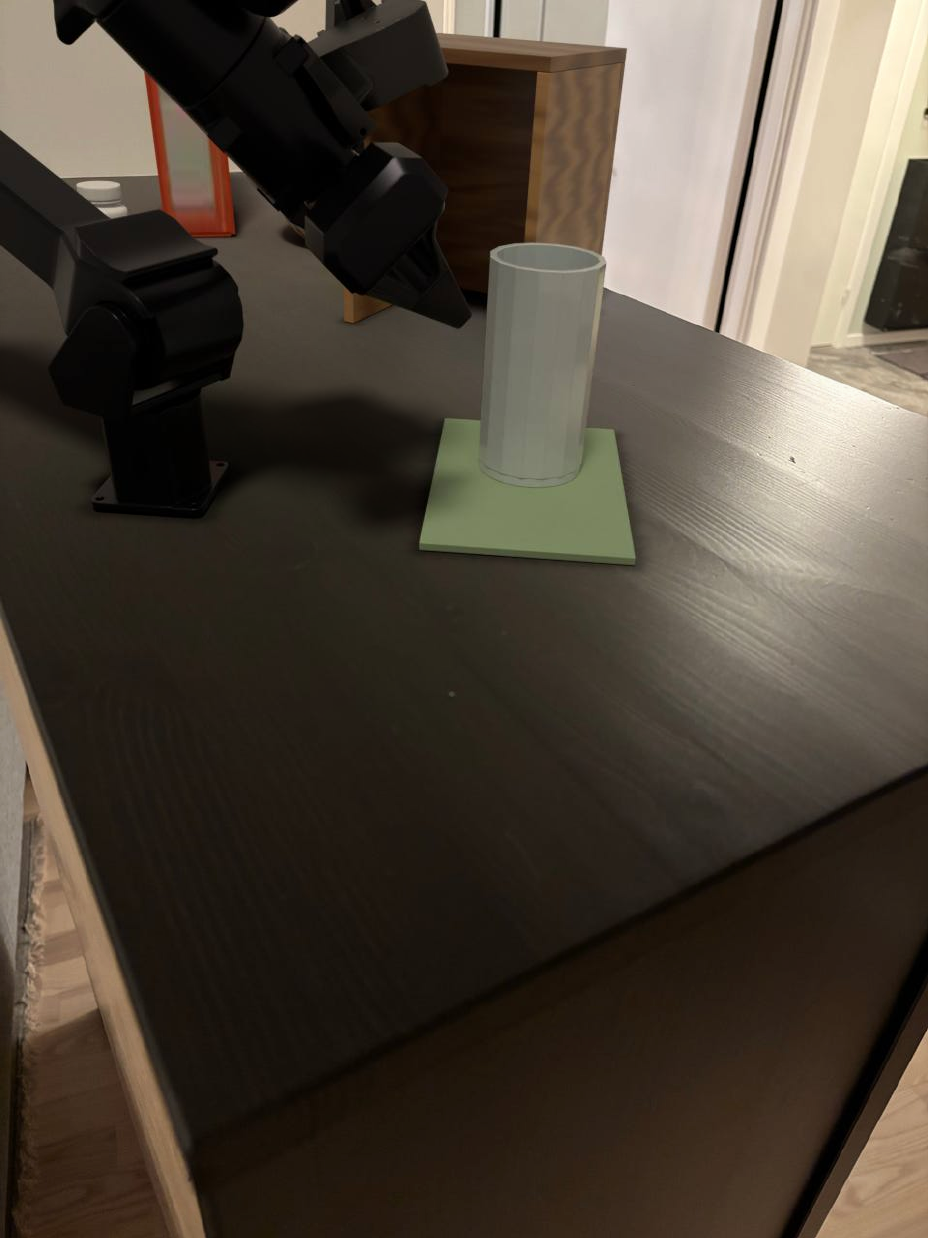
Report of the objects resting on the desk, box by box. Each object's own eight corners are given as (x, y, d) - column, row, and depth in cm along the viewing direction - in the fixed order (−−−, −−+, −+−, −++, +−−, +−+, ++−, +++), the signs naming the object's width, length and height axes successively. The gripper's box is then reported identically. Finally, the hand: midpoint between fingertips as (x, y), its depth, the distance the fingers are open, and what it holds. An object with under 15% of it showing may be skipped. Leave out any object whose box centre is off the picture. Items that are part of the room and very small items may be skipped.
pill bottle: (122, 283, 93) (108, 190, 88) (77, 278, 94) (61, 186, 89) (145, 271, 97) (133, 181, 92) (102, 267, 98) (87, 177, 93)
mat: (634, 565, 53) (636, 558, 52) (418, 550, 53) (419, 542, 53) (613, 435, 68) (614, 428, 67) (444, 424, 68) (444, 417, 68)
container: (531, 497, 58) (552, 278, 50) (456, 461, 62) (466, 252, 54) (600, 468, 62) (629, 260, 54) (526, 436, 66) (543, 237, 58)
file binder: (163, 237, 109) (119, -115, 91) (164, 205, 123) (126, -106, 105) (235, 236, 111) (206, -109, 93) (229, 205, 124) (202, -101, 106)
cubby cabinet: (525, 359, 80) (551, 56, 68) (344, 321, 86) (336, 37, 74) (595, 310, 93) (627, 47, 80) (432, 280, 99) (439, 32, 87)
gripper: (412, -79, 35) (621, 229, 45) (294, -86, 49) (475, 151, 59) (212, 153, 37) (455, 399, 47) (153, 83, 51) (351, 284, 61)
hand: (435, 294), depth 54 cm, fingers open, 9 cm apart
